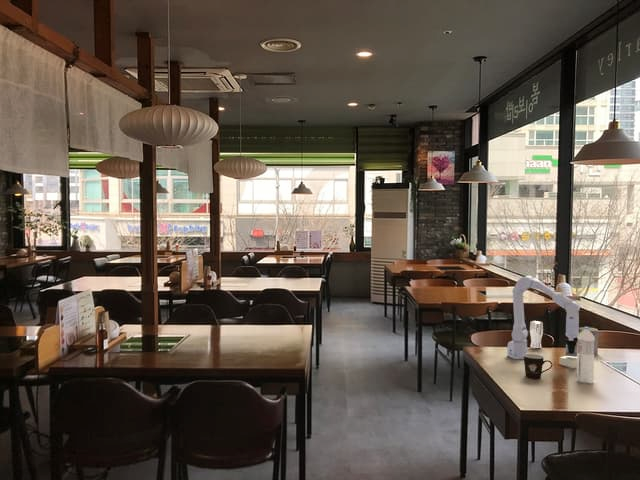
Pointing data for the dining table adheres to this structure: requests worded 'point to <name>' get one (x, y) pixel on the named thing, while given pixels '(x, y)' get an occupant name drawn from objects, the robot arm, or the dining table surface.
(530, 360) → the coffee mug
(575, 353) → the blue cube
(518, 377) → the dining table surface
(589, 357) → the water bottle
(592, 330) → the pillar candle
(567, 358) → the cream block
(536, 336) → the beer glass
